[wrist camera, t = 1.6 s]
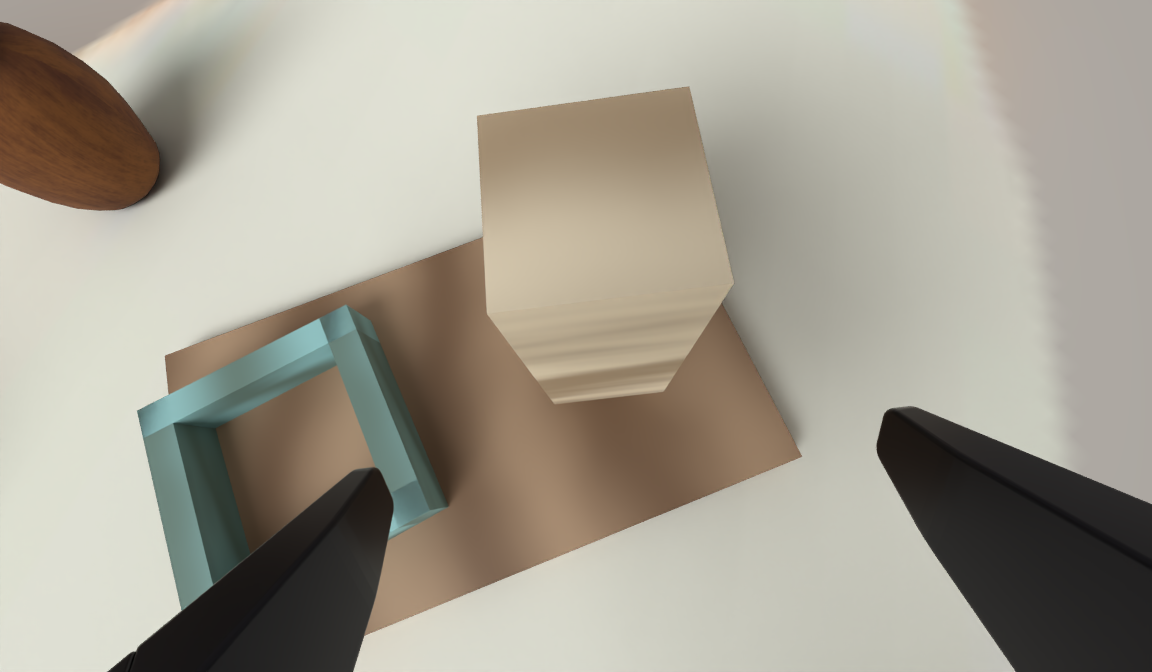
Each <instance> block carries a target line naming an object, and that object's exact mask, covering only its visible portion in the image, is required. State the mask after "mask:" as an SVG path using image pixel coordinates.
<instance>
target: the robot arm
mask: <svg viewBox="0 0 1152 672" xmlns="http://www.w3.org/2000/svg"><path fill="white" fill-rule="evenodd" d="M877 454H878V457H879V459H880V461H881V463H882V465H883V466H884V468H885V470H886V472H887V474H888V475H889V477H890V479H891V481H892V482H893V484H894V486H895V488H896V490H897V491H898V493H899V495H900V497H901V499H902V500H903V502H904V504H905V506H906V508H907V509H908V511H909V513H910V515H911V517H912V518H913V520H914V522H915V524H916V526H917V527H918V529H919V531H920V532H921V534H922V536H923V537H924V539H925V541H926V542H927V544H928V545H929V547H930V548H931V550H932V551H933V553H934V554H935V556H936V557H937V558H938V560H939V561H940V563H941V564H942V566H943V567H944V569H945V570H946V571H947V573H948V574H949V576H950V577H951V579H952V580H953V582H954V583H955V584H956V586H957V587H958V589H959V590H960V592H961V593H962V595H963V596H964V597H965V599H966V600H967V602H968V603H969V605H970V606H971V608H972V609H973V610H974V612H975V613H976V615H977V616H978V618H979V619H980V621H981V622H982V623H983V625H984V626H985V628H986V629H987V631H988V632H989V634H990V635H991V636H992V638H993V639H994V641H995V642H996V644H997V645H998V647H999V648H1000V649H1001V651H1002V652H1003V654H1004V655H1005V657H1006V658H1007V660H1008V661H1009V662H1010V664H1011V665H1012V667H1013V668H1014V670H1015V671H1016V672H1152V504H1150V503H1148V502H1145V501H1143V500H1140V499H1138V498H1135V497H1133V496H1130V495H1128V494H1126V493H1123V492H1121V491H1118V490H1116V489H1114V488H1111V487H1109V486H1106V485H1104V484H1101V483H1099V482H1096V481H1094V480H1092V479H1089V478H1087V477H1084V476H1082V475H1080V474H1077V473H1075V472H1072V471H1070V470H1067V469H1065V468H1063V467H1060V466H1058V465H1055V464H1053V463H1050V462H1048V461H1046V460H1043V459H1041V458H1038V457H1036V456H1033V455H1031V454H1029V453H1026V452H1024V451H1021V450H1019V449H1016V448H1014V447H1012V446H1009V445H1007V444H1004V443H1002V442H999V441H997V440H995V439H992V438H990V437H987V436H985V435H982V434H980V433H978V432H975V431H973V430H970V429H968V428H965V427H963V426H961V425H958V424H956V423H953V422H951V421H948V420H946V419H944V418H941V417H939V416H936V415H934V414H931V413H929V412H927V411H924V410H922V409H919V408H917V407H912V406H908V407H899V408H891V409H889V410H887V411H886V412H885V413H884V416H883V420H882V424H881V428H880V432H879V436H878V440H877ZM393 512H394V502H393V498H392V496H391V493H390V491H389V489H388V486H387V484H386V482H385V480H384V477H383V475H382V473H381V471H380V470H379V469H378V468H375V467H370V468H361V469H355V470H353V471H351V472H350V473H349V474H347V475H346V476H345V477H344V478H343V479H341V480H340V481H339V482H338V483H336V484H335V485H334V486H333V487H332V488H330V489H329V490H328V491H327V492H326V493H324V494H323V495H322V496H321V497H319V498H318V499H317V500H316V501H315V502H313V503H312V504H311V505H310V506H309V507H307V508H306V509H305V510H304V511H302V512H301V513H300V514H299V515H298V516H296V517H295V518H294V519H293V520H291V521H290V522H289V523H288V524H287V525H285V526H284V527H283V528H282V529H281V530H279V531H278V532H277V533H276V534H274V535H273V536H272V537H271V538H270V539H268V540H267V541H266V542H265V543H264V544H262V545H261V546H260V547H259V548H257V549H256V550H255V551H254V552H253V553H251V554H250V555H249V556H248V557H246V558H245V559H244V560H243V561H242V562H240V563H239V564H238V565H237V566H236V567H234V568H233V569H232V570H231V571H229V572H228V573H227V574H226V575H225V576H223V577H222V578H221V579H220V580H219V581H217V582H216V583H215V584H214V585H212V586H211V587H210V588H209V589H208V590H206V591H205V592H204V593H203V594H201V595H200V596H199V597H198V598H197V599H195V600H194V601H193V602H192V603H191V604H189V605H188V606H187V607H186V608H184V609H183V610H182V611H181V612H180V613H178V614H177V615H176V616H175V617H173V618H172V619H171V620H170V621H169V622H167V623H166V624H165V625H164V626H163V627H161V628H160V629H159V630H158V631H156V632H155V633H154V634H153V635H152V636H150V637H149V638H148V639H147V640H145V641H144V642H143V643H142V644H141V645H140V646H138V648H137V651H136V652H131V653H129V654H128V655H127V656H126V657H125V658H123V659H122V660H121V661H120V662H119V663H117V664H116V665H115V666H114V667H113V668H111V669H110V670H109V671H108V672H353V670H354V667H355V664H356V661H357V657H358V654H359V651H360V648H361V645H362V641H363V638H364V635H365V632H366V628H367V625H368V622H369V619H370V616H371V612H372V609H373V605H374V602H375V598H376V595H377V590H378V586H379V582H380V577H381V572H382V567H383V562H384V557H385V552H386V547H387V542H388V537H389V532H390V527H391V522H392V517H393Z"/></svg>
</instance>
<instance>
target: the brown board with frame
mask: <svg viewBox="0 0 1152 672" xmlns="http://www.w3.org/2000/svg"><path fill="white" fill-rule="evenodd" d="M165 362H166V372H167V383H168V393H169V395H167V396H165V397H163V398H161V399H159V400H157V401H155V402H154V403H152V404H150V405H148V406H146V407H144V408H142V409H140V410H138V411H137V413H138V417H139V422H140V426H141V431H142V435H143V440H144V444H145V448H146V453H147V457H148V462H149V466H150V471H151V475H152V480H153V484H154V489H155V493H156V498H157V502H158V507H159V511H160V516H161V520H162V525H163V529H164V534H165V538H166V543H167V547H168V552H169V556H170V560H171V565H172V569H173V574H174V578H175V583H176V587H177V592H178V596H179V601H180V605H181V610H183V609H184V608H186V607H187V606H188V605H189V604H191V603H192V602H193V601H194V600H195V599H197V598H198V597H199V596H200V595H201V594H203V593H204V592H205V591H206V590H208V589H209V588H210V587H211V586H212V585H214V584H215V583H216V582H217V581H219V580H220V579H221V578H222V577H223V576H225V575H226V574H227V573H228V572H229V571H231V570H232V569H233V568H234V567H236V566H237V565H238V564H239V563H240V562H242V561H243V560H244V559H245V558H246V557H248V556H249V555H250V554H251V553H253V552H254V551H255V550H256V549H257V548H259V547H260V546H261V545H262V544H264V543H265V542H266V541H267V540H268V539H270V538H271V537H272V536H273V535H274V534H276V533H277V532H278V531H279V530H281V529H282V528H283V527H284V526H285V525H287V524H288V523H289V522H290V521H291V520H293V519H294V518H295V517H296V516H298V515H299V514H300V513H301V512H302V511H304V510H305V509H306V508H307V507H309V506H310V505H311V504H312V503H313V502H315V501H316V500H317V499H318V498H319V497H321V496H322V495H323V494H324V493H326V492H327V491H328V490H329V489H330V488H332V487H333V486H334V485H335V484H336V483H338V482H339V481H340V480H341V479H343V478H344V477H345V476H346V475H347V474H349V473H350V472H351V471H353V470H355V469H361V468H370V467H375V468H378V469H379V470H380V471H381V473H382V475H383V477H384V480H385V482H386V484H387V486H388V489H389V491H390V493H391V496H392V498H393V502H394V512H393V517H392V522H391V527H390V532H389V537H388V542H387V547H386V552H385V557H384V562H383V567H382V572H381V577H380V582H379V586H378V590H377V595H376V598H375V602H374V605H373V609H372V612H371V616H370V619H369V622H368V625H367V628H366V632H365V635H367V634H370V633H372V632H374V631H377V630H379V629H382V628H384V627H387V626H389V625H392V624H394V623H396V622H399V621H401V620H404V619H406V618H409V617H411V616H414V615H416V614H419V613H421V612H423V611H426V610H428V609H431V608H433V607H436V606H438V605H441V604H443V603H445V602H448V601H450V600H453V599H455V598H458V597H460V596H463V595H465V594H467V593H470V592H472V591H475V590H477V589H480V588H482V587H485V586H487V585H489V584H492V583H494V582H497V581H499V580H502V579H504V578H507V577H509V576H511V575H514V574H516V573H519V572H521V571H524V570H526V569H529V568H531V567H533V566H536V565H538V564H541V563H543V562H546V561H548V560H551V559H553V558H556V557H558V556H560V555H563V554H565V553H568V552H570V551H573V550H575V549H578V548H580V547H582V546H585V545H587V544H590V543H592V542H595V541H597V540H600V539H602V538H604V537H607V536H609V535H612V534H614V533H617V532H619V531H622V530H624V529H626V528H629V527H631V526H634V525H636V524H639V523H641V522H644V521H646V520H648V519H651V518H653V517H656V516H658V515H661V514H663V513H666V512H668V511H670V510H673V509H675V508H678V507H680V506H683V505H685V504H688V503H690V502H693V501H695V500H697V499H700V498H702V497H705V496H707V495H710V494H712V493H715V492H717V491H719V490H722V489H724V488H727V487H729V486H732V485H734V484H737V483H739V482H741V481H744V480H746V479H749V478H751V477H754V476H756V475H759V474H761V473H763V472H766V471H768V470H771V469H773V468H776V467H778V466H781V465H783V464H785V463H788V462H790V461H793V460H795V459H798V458H800V457H802V455H801V454H800V452H799V450H798V448H797V446H796V444H795V442H794V440H793V438H792V436H791V434H790V432H789V431H788V429H787V427H786V425H785V423H784V421H783V419H782V417H781V415H780V413H779V411H778V410H777V408H776V406H775V404H774V402H773V400H772V398H771V396H770V394H769V392H768V390H767V388H766V387H765V385H764V383H763V381H762V379H761V377H760V375H759V373H758V371H757V369H756V367H755V366H754V364H753V362H752V360H751V358H750V356H749V354H748V352H747V350H746V348H745V346H744V344H743V343H742V341H741V339H740V337H739V335H738V333H737V331H736V329H735V327H734V325H733V323H732V322H731V320H730V318H729V316H728V314H727V312H726V310H725V308H724V306H723V304H722V303H721V304H720V306H719V307H718V309H717V310H716V312H715V314H714V315H713V317H712V318H711V320H710V321H709V323H708V324H707V326H706V327H705V329H704V330H703V332H702V333H701V335H700V337H699V338H698V340H697V341H696V343H695V344H694V346H693V347H692V349H691V350H690V352H689V353H688V355H687V356H686V358H685V360H684V361H683V363H682V364H681V366H680V367H679V369H678V370H677V372H676V373H675V375H674V376H673V378H672V380H671V381H670V383H669V384H668V386H667V387H666V389H665V390H664V392H658V393H649V394H641V395H632V396H623V397H615V398H606V399H598V400H589V401H580V402H572V403H563V404H554V403H553V402H552V400H551V399H550V398H549V396H548V395H547V394H546V392H545V391H544V390H543V388H542V387H541V386H540V384H539V383H538V382H537V380H536V379H535V378H534V376H533V375H532V374H531V372H530V371H529V370H528V368H527V367H526V366H525V364H524V363H523V362H522V360H521V359H520V358H519V356H518V355H517V354H516V352H515V351H514V350H513V348H512V347H511V346H510V344H509V343H508V342H507V340H506V339H505V338H504V336H503V335H502V333H501V332H500V331H499V329H498V328H497V327H496V325H495V324H494V323H493V321H492V320H491V319H490V317H489V316H488V315H487V307H486V287H485V267H484V246H483V237H482V238H480V239H477V240H474V241H472V242H469V243H466V244H464V245H461V246H458V247H456V248H453V249H450V250H448V251H445V252H442V253H439V254H437V255H434V256H431V257H429V258H426V259H423V260H421V261H418V262H415V263H413V264H410V265H407V266H405V267H402V268H399V269H396V270H394V271H391V272H388V273H386V274H383V275H380V276H378V277H375V278H372V279H370V280H367V281H364V282H362V283H359V284H356V285H353V286H351V287H348V288H345V289H343V290H340V291H337V292H335V293H332V294H329V295H327V296H324V297H321V298H319V299H316V300H313V301H311V302H308V303H305V304H302V305H300V306H297V307H294V308H292V309H289V310H286V311H284V312H281V313H278V314H276V315H273V316H270V317H268V318H265V319H262V320H259V321H257V322H254V323H251V324H249V325H246V326H243V327H241V328H238V329H235V330H233V331H230V332H227V333H225V334H222V335H219V336H216V337H214V338H211V339H208V340H206V341H203V342H200V343H198V344H195V345H192V346H190V347H187V348H184V349H182V350H179V351H176V352H173V353H171V354H168V355H165ZM365 635H364V636H365Z"/></svg>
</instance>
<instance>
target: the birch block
mask: <svg viewBox="0 0 1152 672" xmlns="http://www.w3.org/2000/svg"><path fill="white" fill-rule="evenodd" d="M477 125H478V145H479V166H480V186H481V206H482V226H483V246H484V267H485V287H486V307H487V315H488V316H489V317H490V319H491V320H492V321H493V323H494V324H495V325H496V327H497V328H498V329H499V331H500V332H501V333H502V335H503V336H504V338H505V339H506V340H507V342H508V343H509V344H510V346H511V347H512V348H513V350H514V351H515V352H516V354H517V355H518V356H519V358H520V359H521V360H522V362H523V363H524V364H525V366H526V367H527V368H528V370H529V371H530V372H531V374H532V375H533V376H534V378H535V379H536V380H537V382H538V383H539V384H540V386H541V387H542V388H543V390H544V391H545V392H546V394H547V395H548V396H549V398H550V399H551V400H552V402H553V403H554V404H563V403H572V402H580V401H589V400H598V399H606V398H615V397H623V396H632V395H641V394H649V393H658V392H664V390H665V389H666V387H667V386H668V384H669V383H670V381H671V380H672V378H673V376H674V375H675V373H676V372H677V370H678V369H679V367H680V366H681V364H682V363H683V361H684V360H685V358H686V356H687V355H688V353H689V352H690V350H691V349H692V347H693V346H694V344H695V343H696V341H697V340H698V338H699V337H700V335H701V333H702V332H703V330H704V329H705V327H706V326H707V324H708V323H709V321H710V320H711V318H712V317H713V315H714V314H715V312H716V310H717V309H718V307H719V306H720V304H721V303H722V301H723V300H724V298H725V297H726V295H727V294H728V292H729V291H730V289H731V287H732V286H733V284H734V280H733V276H732V271H731V267H730V263H729V258H728V254H727V250H726V245H725V241H724V236H723V232H722V228H721V223H720V219H719V215H718V210H717V206H716V201H715V197H714V193H713V188H712V184H711V180H710V175H709V171H708V166H707V162H706V158H705V153H704V149H703V145H702V140H701V136H700V131H699V127H698V123H697V118H696V114H695V110H694V105H693V101H692V96H691V92H690V88H689V87H682V88H674V89H667V90H660V91H653V92H646V93H638V94H631V95H624V96H617V97H609V98H602V99H595V100H588V101H581V102H573V103H566V104H559V105H552V106H544V107H537V108H530V109H523V110H516V111H508V112H501V113H494V114H487V115H479V116H477Z"/></svg>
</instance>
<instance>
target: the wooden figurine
mask: <svg viewBox="0 0 1152 672" xmlns="http://www.w3.org/2000/svg"><path fill="white" fill-rule="evenodd" d="M159 166H160V157H159V151H158V148H157V145H156V142H155V141H154V140H153V138H152V137H151V135H150V134H149V133H148V131H147V130H146V128H145V127H144V125H143V124H142V122H141V121H140V119H139V118H138V117H137V115H136V114H135V113H134V111H133V110H132V109H131V107H130V106H129V105H128V103H127V102H126V101H125V100H124V98H123V97H122V96H121V95H120V94H119V93H118V92H117V91H116V90H115V89H114V88H113V86H112V85H111V84H110V83H109V82H108V81H107V80H106V79H105V78H103V77H102V76H101V75H100V74H98V73H97V72H96V71H95V70H93V69H92V68H91V67H90V66H88V65H87V64H86V63H84V62H83V61H82V60H80V59H78V58H77V57H75V56H74V55H72V54H71V53H69V52H67V51H66V50H64V49H63V48H61V47H59V46H58V45H56V44H54V43H53V42H50V41H48V40H46V39H44V38H41V37H39V36H37V35H35V34H32V33H30V32H28V31H26V30H23V29H21V28H18V27H16V26H13V25H11V24H8V23H3V22H0V183H1V184H3V185H5V186H8V187H11V188H13V189H16V190H19V191H21V192H24V193H27V194H30V195H32V196H35V197H38V198H41V199H44V200H47V201H49V202H52V203H56V204H61V205H65V206H69V207H73V208H77V209H87V210H98V211H101V210H118V209H123V208H126V207H128V206H130V205H132V204H134V203H136V202H137V201H139V200H140V199H142V198H143V197H144V196H146V195H147V194H148V193H149V191H150V190H151V188H152V187H153V186H154V184H155V182H156V179H157V177H158V174H159Z"/></svg>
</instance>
